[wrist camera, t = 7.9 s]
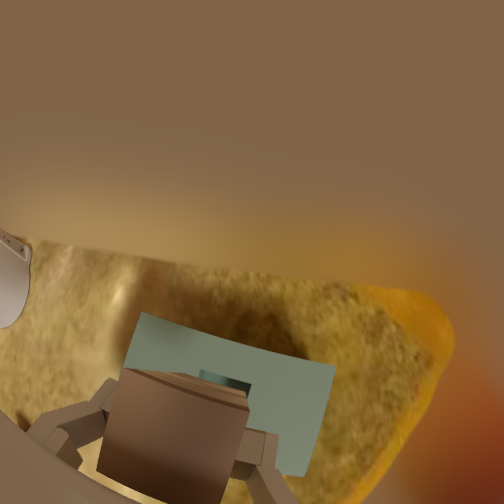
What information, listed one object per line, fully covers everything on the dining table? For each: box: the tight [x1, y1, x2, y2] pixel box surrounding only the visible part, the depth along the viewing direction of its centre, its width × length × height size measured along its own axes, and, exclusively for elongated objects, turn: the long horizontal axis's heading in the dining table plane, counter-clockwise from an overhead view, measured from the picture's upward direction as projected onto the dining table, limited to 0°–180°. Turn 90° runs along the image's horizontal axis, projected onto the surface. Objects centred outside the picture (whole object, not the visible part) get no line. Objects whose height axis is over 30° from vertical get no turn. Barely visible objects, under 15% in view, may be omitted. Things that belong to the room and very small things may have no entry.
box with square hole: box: [118, 311, 336, 477], centre depth 27 cm, size 20×12×9 cm, turn 75°
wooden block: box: [96, 368, 250, 504], centre depth 11 cm, size 4×4×10 cm
